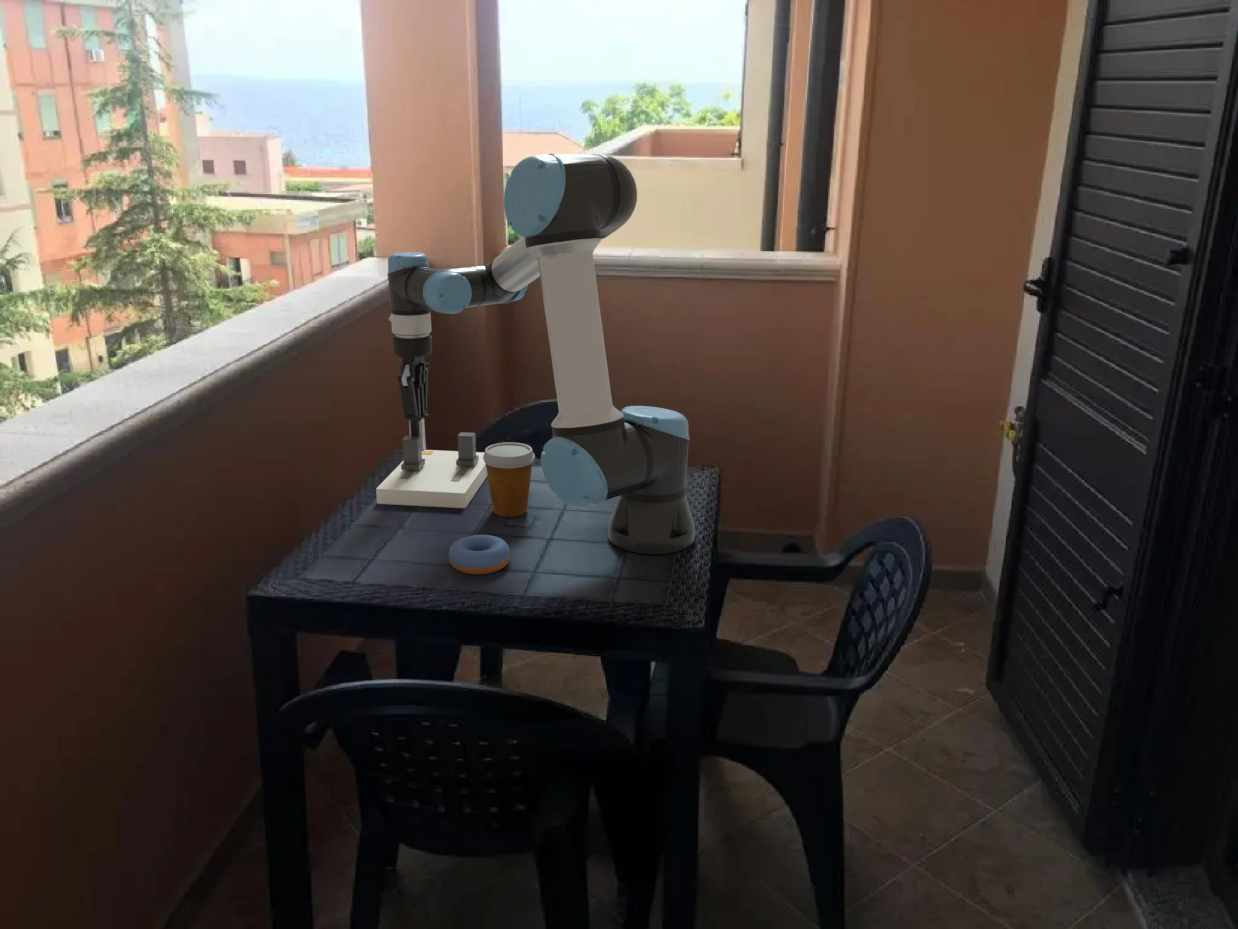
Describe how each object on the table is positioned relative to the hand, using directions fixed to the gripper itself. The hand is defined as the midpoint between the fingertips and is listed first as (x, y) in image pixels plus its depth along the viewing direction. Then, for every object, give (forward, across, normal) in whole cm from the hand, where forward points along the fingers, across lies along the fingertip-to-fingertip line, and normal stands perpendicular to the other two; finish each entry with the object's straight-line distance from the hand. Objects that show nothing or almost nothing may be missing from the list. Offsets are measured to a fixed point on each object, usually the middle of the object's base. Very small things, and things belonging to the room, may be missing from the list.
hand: (418, 449), depth 197 cm
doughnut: (+6, +39, +22) cm, 45 cm away
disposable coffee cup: (+6, +15, +22) cm, 27 cm away
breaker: (+2, -1, +10) cm, 10 cm away
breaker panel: (+6, +3, +5) cm, 8 cm away
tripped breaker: (+2, +4, 0) cm, 4 cm away
